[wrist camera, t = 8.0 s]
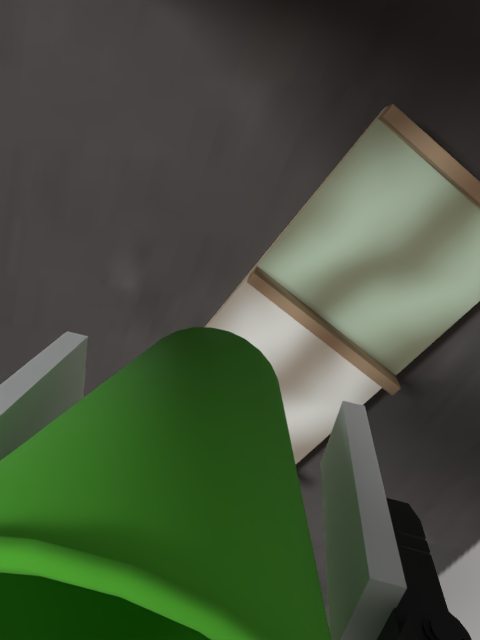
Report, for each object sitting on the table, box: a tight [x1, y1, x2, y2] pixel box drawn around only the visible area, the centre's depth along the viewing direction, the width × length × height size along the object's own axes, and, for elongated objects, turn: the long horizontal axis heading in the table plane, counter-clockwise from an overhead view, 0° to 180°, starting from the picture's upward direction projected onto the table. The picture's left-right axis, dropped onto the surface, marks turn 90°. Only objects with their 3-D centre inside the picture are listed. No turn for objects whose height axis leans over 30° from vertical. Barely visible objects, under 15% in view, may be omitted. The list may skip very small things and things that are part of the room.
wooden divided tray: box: [205, 104, 480, 464], centre depth 31 cm, size 13×26×3 cm, turn 142°
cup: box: [0, 327, 331, 640], centre depth 11 cm, size 9×9×11 cm
